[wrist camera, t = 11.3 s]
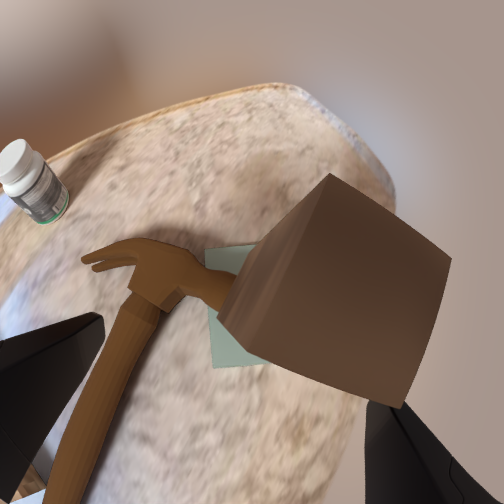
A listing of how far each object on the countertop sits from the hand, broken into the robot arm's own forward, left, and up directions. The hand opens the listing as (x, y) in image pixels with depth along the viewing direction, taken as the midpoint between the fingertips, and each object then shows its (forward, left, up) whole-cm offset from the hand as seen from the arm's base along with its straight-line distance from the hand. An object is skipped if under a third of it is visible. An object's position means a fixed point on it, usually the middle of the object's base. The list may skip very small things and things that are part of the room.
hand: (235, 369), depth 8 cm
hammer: (-4, +12, -12) cm, 18 cm away
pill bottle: (+16, +18, -13) cm, 27 cm away
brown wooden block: (+4, -2, -9) cm, 10 cm away
